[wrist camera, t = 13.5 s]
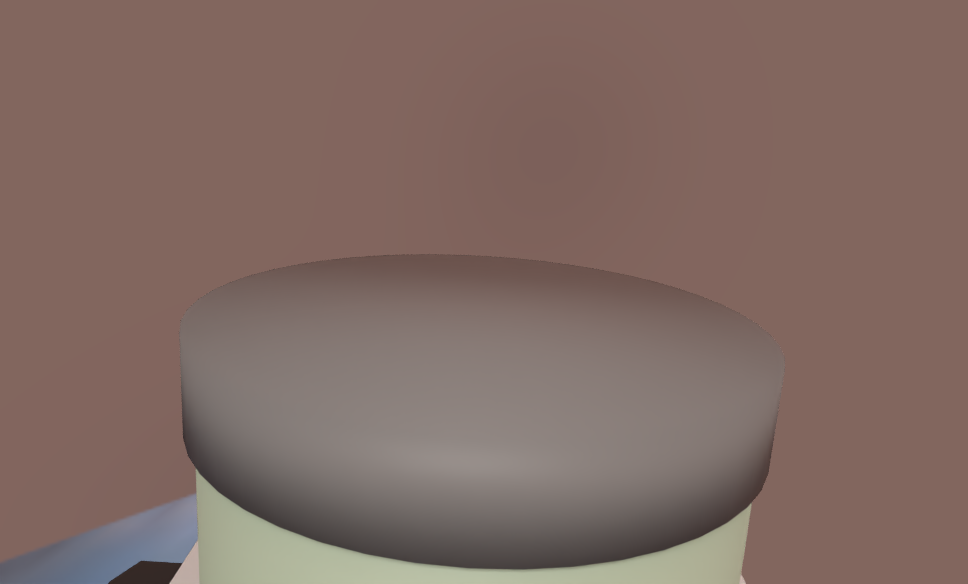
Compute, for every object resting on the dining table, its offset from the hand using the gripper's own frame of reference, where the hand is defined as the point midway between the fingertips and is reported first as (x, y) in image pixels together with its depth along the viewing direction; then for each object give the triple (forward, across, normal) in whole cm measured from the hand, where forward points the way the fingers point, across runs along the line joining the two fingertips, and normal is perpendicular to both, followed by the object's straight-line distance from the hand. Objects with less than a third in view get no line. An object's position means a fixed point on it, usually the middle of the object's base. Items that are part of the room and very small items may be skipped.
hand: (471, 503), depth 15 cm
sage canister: (-5, 0, -7) cm, 9 cm away
